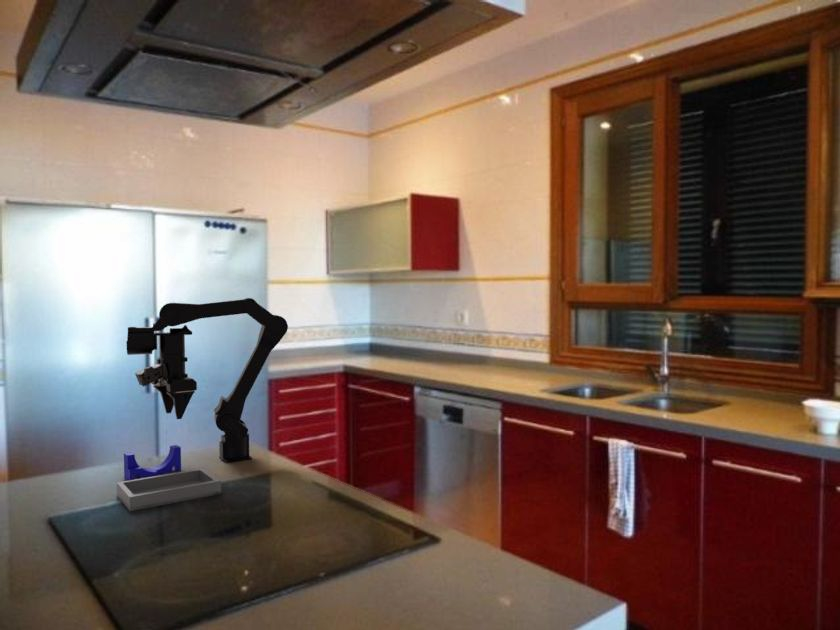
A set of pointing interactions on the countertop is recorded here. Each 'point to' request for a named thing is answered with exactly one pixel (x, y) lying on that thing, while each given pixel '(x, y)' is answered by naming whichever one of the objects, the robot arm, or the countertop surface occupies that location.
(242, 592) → the countertop surface
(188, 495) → the parts tray
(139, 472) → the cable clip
